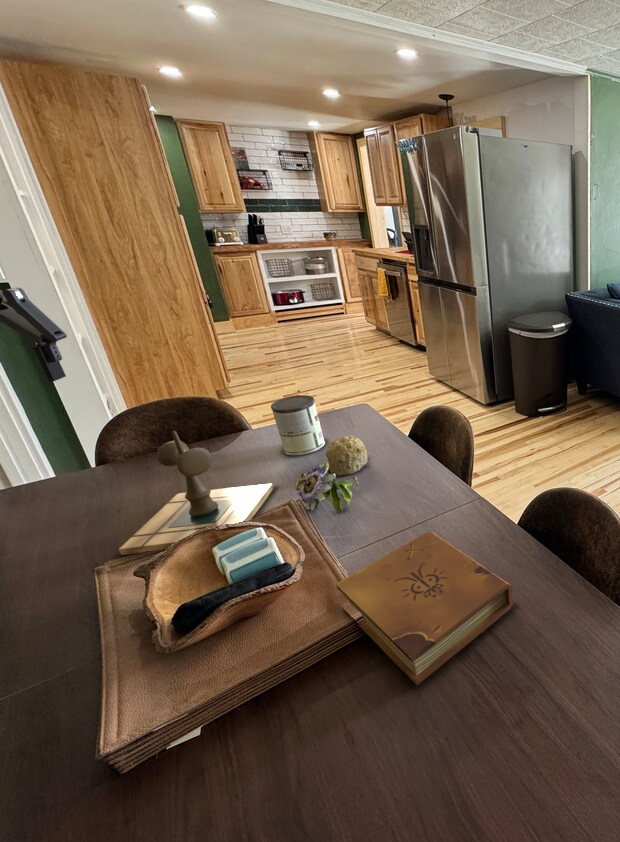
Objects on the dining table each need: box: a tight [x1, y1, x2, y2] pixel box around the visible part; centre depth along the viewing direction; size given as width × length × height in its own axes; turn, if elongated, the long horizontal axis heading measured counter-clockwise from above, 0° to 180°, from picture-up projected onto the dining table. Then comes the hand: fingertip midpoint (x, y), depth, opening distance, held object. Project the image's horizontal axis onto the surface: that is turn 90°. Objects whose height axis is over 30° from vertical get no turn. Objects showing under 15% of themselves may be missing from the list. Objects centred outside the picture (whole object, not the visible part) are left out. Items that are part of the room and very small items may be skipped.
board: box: [118, 483, 275, 556], centre depth 104 cm, size 20×20×2 cm
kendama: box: [156, 430, 218, 517], centre depth 101 cm, size 6×10×20 cm, turn 64°
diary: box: [335, 530, 514, 686], centre depth 81 cm, size 23×19×6 cm
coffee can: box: [270, 394, 326, 456], centre depth 133 cm, size 10×10×14 cm
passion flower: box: [295, 461, 360, 512], centre depth 109 cm, size 11×11×12 cm
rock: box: [325, 435, 369, 476], centre depth 125 cm, size 10×11×10 cm
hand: (12, 381), depth 86 cm, fingers open, 13 cm apart
